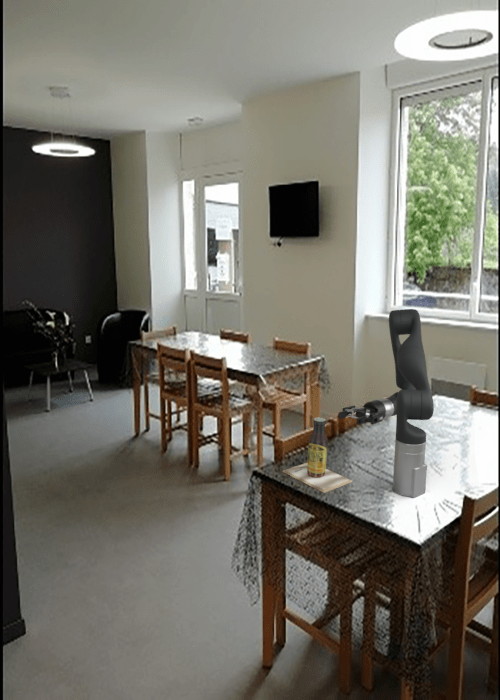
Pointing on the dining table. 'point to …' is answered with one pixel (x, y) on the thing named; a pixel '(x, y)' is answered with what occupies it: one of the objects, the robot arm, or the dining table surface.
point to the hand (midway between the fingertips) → (348, 418)
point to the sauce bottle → (317, 449)
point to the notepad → (322, 483)
